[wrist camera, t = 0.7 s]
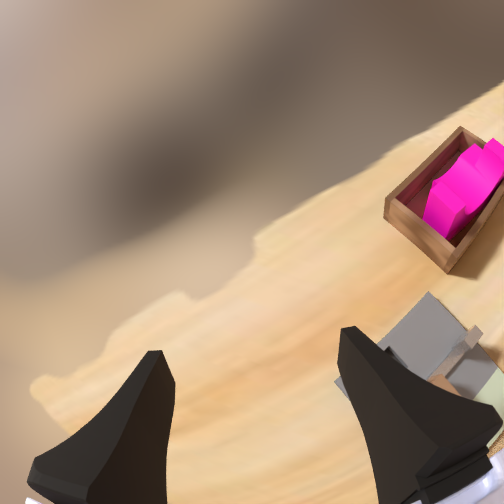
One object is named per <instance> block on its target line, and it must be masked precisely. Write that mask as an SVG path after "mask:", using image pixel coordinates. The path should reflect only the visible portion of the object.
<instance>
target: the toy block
mask: <svg viewBox="0 0 504 504" xmlns="http://www.w3.org/2000/svg"><path fill="white" fill-rule="evenodd" d="M503 180H504V146H503V145H501V144H500V143H499V142H498V141H496V140H495V139H494V138H492V139H491V140H490V141H489V142H488V143H486V144H485V145H484V148H483V149H481V148H480V147H479V146H478V145H476V144H475V143H474V144H473V145H472V146H471V147H469V148H468V149H467V150H466V151H464V152H463V153H462V154H461V155H460V156H459V158H458V159H457V161H456V162H455V164H454V165H453V166H452V167H451V168H450V169H449V170H448V171H447V172H446V173H445V174H444V175H443V176H441V177H440V178H438V179H436V180H433V183H432V188H431V190H430V192H429V196H428V200H427V204H426V207H425V211H424V215H423V218H422V220H423V221H425V222H426V223H427V224H428V225H429V226H431V227H432V228H433V229H434V230H435V231H437V232H438V233H439V234H440V235H441V236H442V237H444V238H445V239H446V240H447V241H448V242H449V241H450V240H452V239H453V238H454V237H455V236H456V235H457V234H458V233H459V232H460V231H461V230H462V229H463V228H464V227H465V226H466V225H467V224H468V223H469V222H470V221H471V220H472V219H473V218H474V217H475V216H476V215H477V214H478V213H479V212H480V211H481V210H482V209H483V208H484V207H485V206H486V205H487V204H488V203H489V202H490V200H491V199H492V197H493V196H494V194H495V192H496V191H497V189H498V188H499V186H500V184H501V183H502V181H503Z"/></svg>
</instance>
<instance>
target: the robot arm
mask: <svg viewBox="0 0 504 504" xmlns="http://www.w3.org/2000/svg"><path fill="white" fill-rule="evenodd" d="M337 364H338V368H339V372H340V375H341V379H342V382H343V385H344V387H345V390H346V392H347V394H348V397H349V399H350V401H351V404H352V406H353V408H354V411H355V413H356V415H357V418H358V420H359V422H360V425H361V427H362V430H363V433H364V436H365V440H366V443H367V447H368V451H369V455H370V459H371V463H372V467H373V472H374V477H375V482H376V488H377V494H378V501H379V504H504V448H503V449H501V450H500V451H499V452H497V453H496V454H494V455H493V456H492V457H491V458H489V459H488V457H487V455H486V454H487V453H488V452H489V449H488V447H487V444H488V443H489V442H490V440H491V439H492V438H493V437H494V436H495V435H496V434H497V432H498V431H499V430H500V429H501V427H502V425H503V420H502V418H501V417H500V415H499V414H498V412H497V411H496V409H495V408H494V407H493V405H489V404H485V403H481V402H477V401H473V400H470V399H467V398H464V397H461V396H459V395H456V394H453V393H451V392H449V391H446V390H444V389H442V388H440V387H438V386H436V385H434V384H432V383H430V382H428V381H426V380H425V379H423V378H421V377H420V376H418V375H416V374H415V373H413V372H411V371H410V370H408V369H407V368H406V367H404V366H403V365H401V364H400V363H399V362H397V361H396V360H395V359H393V358H392V357H391V356H390V355H388V354H387V353H386V352H385V351H383V350H382V349H381V348H380V347H379V346H378V345H376V344H375V343H374V342H373V341H372V340H371V339H370V338H368V337H367V336H366V335H365V334H364V333H363V332H362V331H360V330H359V329H358V328H357V327H356V326H352V327H347V328H341V334H340V343H339V353H338V361H337ZM174 404H175V381H174V378H173V376H172V374H171V371H170V369H169V367H168V364H167V362H166V359H165V357H164V354H163V352H162V350H157V351H148V352H147V353H146V354H145V356H144V357H143V358H142V360H141V361H140V362H139V364H138V365H137V366H136V368H135V369H134V371H133V372H132V373H131V375H130V376H129V377H128V379H127V380H126V381H125V383H124V384H123V385H122V386H121V388H120V389H119V390H118V392H117V393H116V394H115V395H114V396H113V397H112V399H111V400H110V401H109V402H108V403H107V404H106V406H105V407H104V408H103V409H102V410H101V411H100V412H99V413H98V414H97V415H96V416H95V417H94V418H93V419H92V420H91V421H89V422H88V423H87V424H86V425H85V426H83V427H82V428H81V429H80V430H79V431H77V432H76V433H75V434H74V435H72V436H71V437H70V438H68V439H67V440H65V441H64V442H62V443H61V444H59V445H58V446H56V447H54V448H53V449H51V450H49V451H47V452H45V453H43V454H42V455H39V456H37V457H35V459H34V461H33V464H32V467H31V470H30V473H29V476H28V479H27V483H28V485H29V486H30V487H31V488H32V489H33V490H35V491H36V492H37V493H39V494H40V495H42V496H43V497H45V498H47V499H48V500H50V501H51V502H53V503H54V504H167V491H166V457H167V447H168V441H169V435H170V429H171V423H172V417H173V411H174ZM25 504H42V503H40V502H38V501H35V500H33V499H31V498H29V497H28V498H26V502H25Z"/></svg>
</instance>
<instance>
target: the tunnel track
mask: <svg viewBox="0 0 504 504" xmlns="http://www.w3.org/2000/svg"><path fill="white" fill-rule="evenodd" d="M464 332H466V330H465V329H464V328H463V326H462V325H461V324H460V323H459V322H458V321H457V320H456V319H455V318H454V317H453V316H452V315H451V314H450V313H449V312H448V311H447V310H446V309H445V307H444V306H443V305H442V304H441V303H440V302H439V301H438V300H437V299H436V298H435V297H434V296H433V295H432V294H431V293H430V292H429V291H428V292H427V293H426V294H425V295H424V297H423V298H422V299H421V300H420V301H419V302H418V303H417V304H416V305H415V306H414V307H413V308H412V310H411V311H410V312H409V313H408V314H407V315H406V316H405V317H404V318H403V319H402V320H401V321H400V322H399V323H398V324H397V325H396V326H395V327H394V328H393V329H392V330H391V331H390V332H389V333H388V334H387V335H386V336H385V337H384V338H383V339H382V340H381V341H380V342H378V343H377V344H376V345H378V346H379V347H380V348H381V349H382V350H383V351H385V352H386V353H387V354H388V355H390V356H391V357H392V358H393V359H395V360H396V361H397V362H399V363H400V364H401V365H403V366H404V367H406V368H407V369H408V370H410V371H411V372H413V373H415V374H416V375H418V376H420V377H421V378H423V379H425V380H426V379H427V378H428V377H429V376H430V375H431V374H432V372H433V371H434V370H435V369H436V368H437V367H438V366H439V365H440V364H441V363H442V361H443V360H444V359H445V358H446V357H447V356H448V355H449V353H450V352H451V351H452V349H451V347H452V346H453V344H454V343H455V342H456V341H457V339H458V338H459V337H460V336H461V335H462V334H463V333H464ZM334 382H335V383H336V385H337V386H338V387H339V388H340V389H341V391H342V392H343V393H344V394H345V395H346V397H347V398H348V399H349V397H348V394H347V392H346V390H345V387H344V385H343V382H342V379H341V376H340V377H339V378H338V379H336V380H335V381H334ZM428 382H430V383H432V384H434V385H436V386H438V387H440V388H442V389H444V390H446V391H449V392H451V393H453V394H456V395H459V396H461V397H464V398H467V399H470V400H473V401H477V402H481V403H485V404H489V405H493V407H494V408H495V409H496V411H497V412H498V414H499V415H500V417H501V418H502V420H503V425H502V427H501V429H500V430H499V431H498V432H497V434H496V435H495V436H494V437H493V438H492V439H491V440H490V442H489V443H488V444H487V447H488V448H489V447H490V446H491V445H492V444H493V442H494V441H495V440H496V439H497V438H498V436H499V435H500V434H501V433H502V432H503V430H504V374H503V373H502V371H501V370H500V369H499V368H498V366H497V365H496V364H495V363H494V362H493V360H492V359H491V358H490V357H489V356H488V355H487V353H486V352H485V351H484V350H483V349H482V348H481V346H480V345H479V344H478V343H476V344H475V346H474V347H473V348H472V349H471V350H469V351H467V352H465V353H464V355H463V356H462V357H461V358H460V359H459V361H458V362H457V363H456V364H455V365H454V366H453V368H452V369H451V370H450V371H449V372H448V373H447V374H446V376H445V377H444V376H443V374H439V375H436V376H432V377H431V378H430V379H429V380H428ZM349 400H350V399H349Z"/></svg>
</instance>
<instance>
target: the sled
mask: <svg viewBox="0 0 504 504" xmlns="http://www.w3.org/2000/svg"><path fill="white" fill-rule="evenodd" d="M482 335H483V333H482V332H481V330H480V329H479V328H478V327H477V326H476V325H474V326H473V327H472V328H470V329H469V330H467V331H466V332H464V333H463V334H462V335H461V336H460V337H459V338H458V339H457V341H456V342H455V343H454V344H453V346H452V347H451V349H452V351H451V352H450V353H449V355H448V356H447V357H446V358H445V359H444V360H443V361H442V363H441V364H440V365H439V366H438V367H437V368H436V369H435V370H434V371H433V372H432V374H431V375H430V376H429V377H428V378H427V379H426V381H428V380H429V379H430V378H431V377H432V376H436V375H439V374H443V376H444V377H445V376H446V374H447V373H448V372H449V371H450V370H451V369H452V368H453V366H454V365H455V364H456V363H457V362H458V361H459V359H460V358H461V357H462V356H463V355H464V353H465V352H467V351H469V350H471V349H472V348H473V347H474V346H475V344H476V343H477V342H478V340H479V339H480V338H481V336H482Z"/></svg>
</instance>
